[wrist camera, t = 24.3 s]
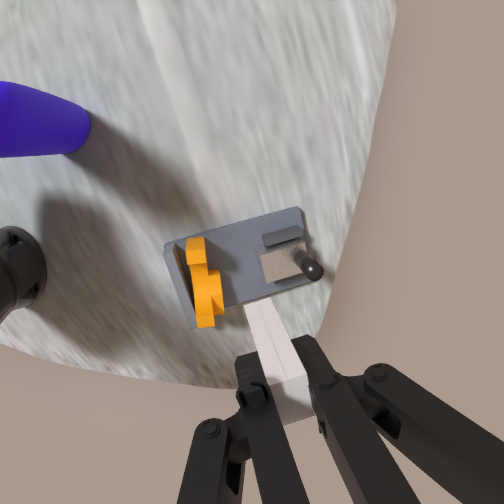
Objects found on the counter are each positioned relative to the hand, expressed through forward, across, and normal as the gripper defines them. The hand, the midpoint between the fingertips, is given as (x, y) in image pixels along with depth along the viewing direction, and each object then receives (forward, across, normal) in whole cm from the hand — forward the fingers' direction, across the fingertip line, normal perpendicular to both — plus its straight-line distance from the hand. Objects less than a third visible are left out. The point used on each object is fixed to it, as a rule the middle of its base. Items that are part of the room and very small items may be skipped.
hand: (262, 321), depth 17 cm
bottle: (+33, -20, +21) cm, 44 cm away
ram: (+31, +7, -8) cm, 33 cm away
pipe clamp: (+31, -5, -8) cm, 33 cm away
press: (+32, +1, -8) cm, 34 cm away
